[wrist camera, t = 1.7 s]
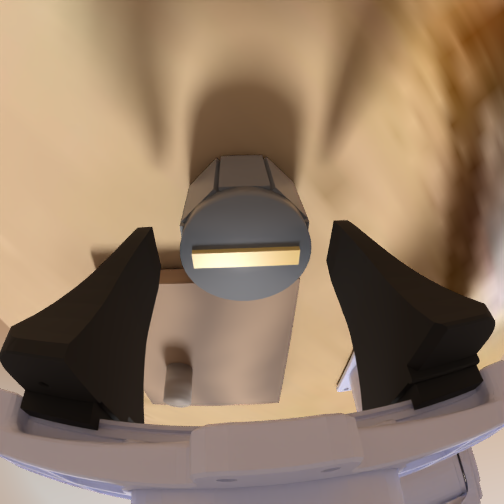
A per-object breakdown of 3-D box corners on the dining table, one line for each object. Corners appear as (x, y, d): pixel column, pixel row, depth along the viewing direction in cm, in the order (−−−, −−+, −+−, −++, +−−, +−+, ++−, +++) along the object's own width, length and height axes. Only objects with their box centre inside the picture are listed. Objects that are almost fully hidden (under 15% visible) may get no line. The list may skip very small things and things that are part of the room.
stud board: (296, 264, 18) (310, 318, 14) (277, 391, 27) (282, 428, 24) (94, 271, 17) (73, 321, 14) (153, 393, 27) (150, 429, 24)
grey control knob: (296, 154, 13) (320, 199, 10) (289, 243, 17) (304, 302, 13) (185, 158, 13) (169, 203, 10) (195, 247, 16) (188, 306, 13)
